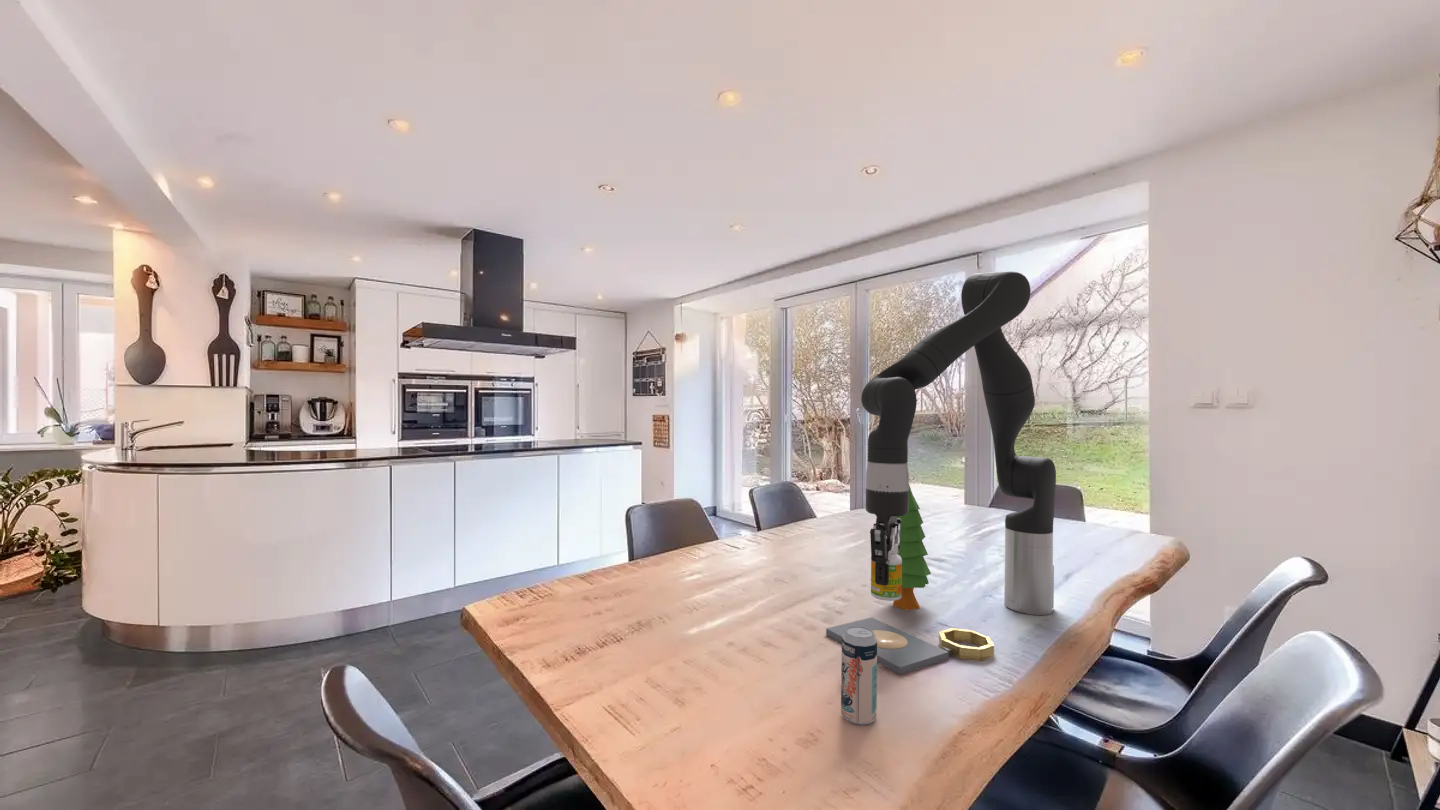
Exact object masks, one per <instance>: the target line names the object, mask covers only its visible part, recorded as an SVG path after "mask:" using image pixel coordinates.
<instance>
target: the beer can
mask: <svg viewBox="0 0 1440 810" xmlns="http://www.w3.org/2000/svg"><path fill="white" fill-rule="evenodd" d="M840 667H841V672H840V673H841V675H840V676H841V680H840V681H841V685H840V686H841V687H840V693H841V694H840V696H841V697H840V713H841V716H842V717H843V719H845V720H847V722H849V723H851V724H853V725H857V726H858V725H859V726H866V725H867V726H868V725H869V724H871V723H874V722H875V721H876V719H877V700H878V699H877V693H878V691H877V690H878V683H877V682H878V663H877V639H876V637H875V635H874V632H873V631H872V630H871V629H868V628H865V627H860V626H852V627H847V628H846V630H845V632H844V634H843V635H842V643H841V665H840Z"/></svg>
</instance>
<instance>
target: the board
mask: <svg viewBox="0 0 1440 810" xmlns="http://www.w3.org/2000/svg"><path fill="white" fill-rule="evenodd" d="M852 626H860V627H865V628H868V629H871V630H872V631H873V632H874V635H875V637H876V639H877V664H880V665H882V666H883V667H885V668H887V669H889V670H891V671H892V672H894V673H896V674H897V675H900V676H901V675H904V674H907V673H910V672H912V671H915V670H918V669H922V668H924V667H928V666H931V665H933V664H937V663H941V662H943V661H946V660H949V658H950V657H949V652H948V651H946V650H943V649H941V647H940V646H937V645H934V644H933V643H930V642H928V641H925V640H923V639H921V638H919V637H917V636H914V635H912V634H910V633H908V632H906V631H903V630H901V629H899V628H896V627H895V626H892V625H890V624H888V623H886V622H884V621H883V622H882V621H881V620H879V619H877V618H874V617H872V616H871V617H868V618H863V619H860V620H854V621H851V622H847V623H843V624H838V625H833V626H830V627H827V628H825V631H826V632H825V635H826V636H827V637H830V638H832V639H833V640H835V641H837V642H839V643H841V644H842V635H843V634H844V632H845V630H846V628H847V627H852Z"/></svg>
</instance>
